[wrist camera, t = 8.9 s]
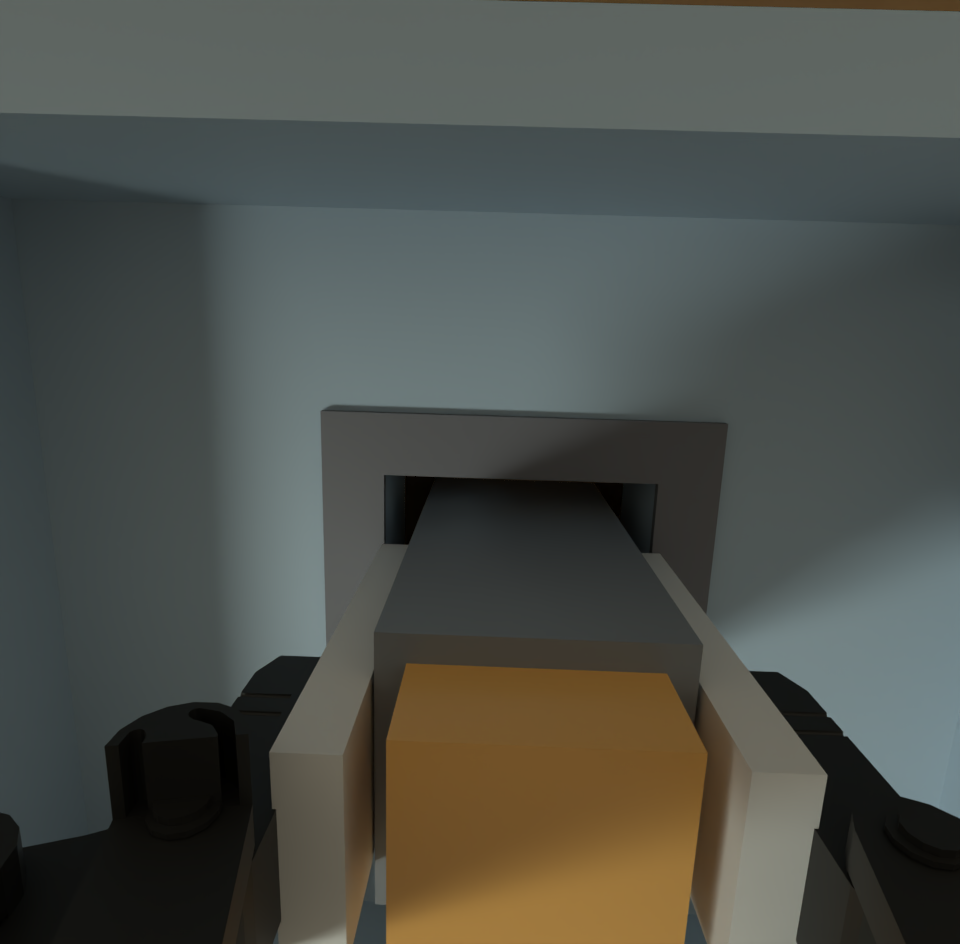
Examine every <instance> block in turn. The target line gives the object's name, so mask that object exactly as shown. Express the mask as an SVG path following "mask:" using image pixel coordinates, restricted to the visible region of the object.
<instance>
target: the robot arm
mask: <svg viewBox="0 0 960 944" xmlns="http://www.w3.org/2000/svg"><path fill="white" fill-rule="evenodd" d="M407 548H408V545H402V544H381V546H380V548H379V550H378V552H377V554H376V555H375V557H374V559H373V561H372V563H371V565H370V567H369V568H368V570H367V572H366V574H365V576H364V578H363V580H362V581H361V583H360V585H359V587H358V589H357V591H356V592H355V594H354V596H353V598H352V600H351V602H350V604H349V605H348V607H347V609H346V611H345V613H344V615H343V617H342V618H341V620H340V622H339V624H338V626H337V628H336V630H335V631H334V633H333V635H332V637H331V639H330V641H329V642H328V644H327V646H326V648H325V650H324V652H323V654H322V655H321V657H309V656H283V655H280V656H279V657H277V658H276V659H274V660H273V661H271V662H270V663H268V664H267V665H265V666H264V667H262V668H261V669H259V670H258V671H256V672H255V673H254V675H253V676H252V678H251V679H250V680H249V682H248V683H247V685H246V686H245V687H244V689H243V690H242V692H241V696H240V697H237V699H236V700H235V702H234V703H233V704H232V706H231V707H230V706H227V705H224V704H221V703H214V702H191V703H185V704H180V705H174V706H168V707H165V708H163V709H160V710H157V711H154V712H152V713H149V714H146V715H144V716H141V717H140V718H138V719H136V720H135V721H133V722H132V723H130V724H128V725H127V726H125V727H123V728H122V729H120V730H119V731H118V732H117V733H116V734H115V735H114V736H113V737H112V739H111V740H110V741H109V742H108V743H107V744H106V745H105V746H104V748H105V757H106V766H107V774H108V783H109V792H110V801H111V810H112V819H113V820H112V822H111V824H110V826H109V828H108V829H106V830H103V831H99V832H95V833H91V834H88V835H84V836H79V837H74V838H69V839H63V840H58V841H53V842H48V843H43V844H38V845H33V846H28V847H22V841H21V834H20V827H19V826H18V825H17V823H16V822H15V821H14V820H13V818H12V817H11V816H10V815H8V814H4V813H0V944H273V942H274V939H275V936H276V933H277V931H278V942H279V944H353V942H354V938H355V934H356V929H357V925H358V921H359V917H360V912H361V908H362V904H363V899H364V895H365V891H366V887H367V882H368V878H369V874H370V869H371V865H372V861H373V857H374V852H375V784H374V630H375V628H376V625H377V623H378V620H379V618H380V615H381V613H382V610H383V608H384V605H385V603H386V600H387V598H388V595H389V593H390V590H391V588H392V585H393V583H394V580H395V578H396V575H397V573H398V570H399V568H400V565H401V563H402V560H403V558H404V555H405V553H406V550H407ZM642 555H643V556H644V558H645V559H646V561H647V562H648V564H649V565H650V567H651V568H652V570H653V571H654V573H655V574H656V576H657V577H658V579H659V580H660V581H661V583H662V584H663V586H664V587H665V589H666V590H667V592H668V593H669V595H670V596H671V598H672V599H673V601H674V602H675V604H676V605H677V607H678V608H679V610H680V611H681V613H682V614H683V615H684V617H685V618H686V620H687V621H688V623H689V624H690V626H691V627H692V629H693V630H694V632H695V633H696V635H697V636H698V638H699V639H700V641H701V642H702V644H703V653H702V661H701V670H700V678H699V687H698V695H697V704H696V712H695V721H694V727H695V729H696V731H697V733H698V735H699V737H700V739H701V741H702V743H703V745H704V747H705V749H706V750H707V752H708V757H707V765H706V773H705V781H704V789H703V797H702V805H701V813H700V821H699V829H698V837H697V845H696V853H695V861H694V869H693V877H692V885H691V893H690V897H691V899H692V902H693V905H694V908H695V911H696V914H697V917H698V919H699V922H700V925H701V928H702V931H703V934H704V937H705V939H706V942H707V944H960V818H958V817H956V816H953V815H951V814H949V813H947V812H945V811H943V810H941V809H938V808H936V807H934V806H932V805H930V804H926V803H923V802H919V801H915V800H912V799H908V798H904V797H900V796H899V794H898V793H897V792H896V791H895V790H894V789H893V788H892V786H891V785H890V784H889V783H888V782H887V781H886V780H885V778H884V777H883V776H882V775H881V774H880V773H879V772H878V771H877V769H876V768H875V767H874V766H873V765H872V764H871V763H870V761H869V760H868V759H867V758H866V757H865V756H864V755H863V753H862V752H861V751H860V750H859V749H858V748H857V747H856V745H855V744H854V743H853V742H852V741H851V740H850V739H849V738H848V736H844V735H843V731H842V730H841V728H840V727H839V726H838V725H837V724H836V723H835V722H834V720H833V719H832V718H831V717H827V712H826V711H825V710H824V709H823V708H822V707H821V706H820V705H819V703H818V702H817V701H816V700H815V699H814V698H813V697H812V695H811V694H810V693H809V692H808V691H807V690H805V689H804V688H802V687H801V686H799V685H798V684H796V683H794V682H793V681H791V680H790V679H788V678H787V677H785V676H783V675H782V674H780V673H779V672H765V671H749V670H748V669H747V668H746V667H745V665H744V664H743V663H742V661H741V660H740V659H739V657H738V656H737V655H736V653H735V652H734V651H733V649H732V648H731V647H730V645H729V644H728V643H727V641H726V640H725V639H724V637H723V636H722V635H721V633H720V632H719V631H718V630H717V628H716V627H715V626H714V624H713V623H712V622H711V620H710V619H709V618H708V616H707V615H706V614H705V612H704V611H703V610H702V608H701V607H700V606H699V604H698V603H697V602H696V600H695V599H694V598H693V596H692V595H691V594H690V593H689V591H688V590H687V589H686V587H685V586H684V585H683V583H682V582H681V581H680V579H679V578H678V577H677V575H676V574H675V573H674V571H673V570H672V569H671V567H670V566H669V565H668V563H667V562H666V561H665V559H664V558H663V557H662V556H661V554H657V553H642Z"/></svg>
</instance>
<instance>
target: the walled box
mask: <svg viewBox="0 0 960 944" xmlns="http://www.w3.org/2000/svg"><path fill="white" fill-rule="evenodd" d="M405 476H428V477H458V478H488V479H518V480H549V481H579V482H609V483H623V490H622V502H621V514H620V522H621V524H622V525H623V527H624V528H625V530H626V531H627V533H628V534H629V536H630V537H631V539H632V540H633V542H634V543H635V545H636V546H637V547H638V549H639V550H640V552H641V553H657V554H661V556H662V557H663V558H664V559H665V561H666V562H667V563H668V565H669V566H670V567H671V569H672V570H673V571H674V573H675V574H676V575H677V577H678V578H679V579H680V581H681V582H682V583H683V585H684V586H685V587H686V589H687V590H688V591H689V593H690V594H691V595H692V596H693V598H694V599H695V600H696V602H697V603H698V604H699V606H700V607H701V608H702V610H703V611H704V612H705V614H706V615H707V616H708V618H709V619H710V620H711V622H712V623H713V624H714V626H715V627H716V628H717V630H718V631H719V632H720V633H721V635H722V636H723V637H724V639H725V640H726V641H727V643H728V644H729V645H730V647H731V648H732V649H733V651H734V652H735V653H736V655H737V656H738V657H739V659H740V660H741V661H742V663H743V664H744V665H745V667H746V668H747V669H748V670H749V671H765V672H779V673H780V674H782V675H783V676H785V677H787V678H788V679H790V680H791V681H793V682H794V683H796V684H798V685H799V686H801V687H802V688H804V689H805V690H807V691H808V692H809V693H810V694H811V695H812V697H813V698H814V699H815V700H816V701H817V702H818V703H819V705H820V706H821V707H822V708H823V709H824V710H825V711H826V712H827V717H831V718H832V719H833V720H834V722H835V723H836V724H837V725H838V726H839V727H840V728H841V730H842V731H843V735H844V736H848V738H849V739H850V740H851V741H852V742H853V743H854V744H855V745H856V747H857V748H858V749H859V750H860V751H861V752H862V753H863V755H864V756H865V757H866V758H867V759H868V760H869V761H870V763H871V764H872V765H873V766H874V767H875V768H876V769H877V771H878V772H879V773H880V774H881V775H882V776H883V777H884V778H885V780H886V781H887V782H888V783H889V784H890V785H891V786H892V788H893V789H894V790H895V791H896V792H897V793H898V794H899V796H900V797H904V798H908V799H912V800H915V801H919V802H923V803H926V804H930V805H932V806H934V807H936V808H938V809H941V810H943V811H945V812H947V813H949V814H951V815H953V816H956V817H958V818H960V12H959V11H917V10H876V9H834V8H792V7H750V6H708V5H666V4H625V3H583V2H541V1H499V0H0V813H4V814H8V815H10V816H11V817H12V818H13V820H14V821H15V822H16V823H17V825H18V826H19V827H20V834H21V841H22V847H28V846H33V845H38V844H43V843H48V842H53V841H58V840H63V839H69V838H74V837H79V836H84V835H88V834H91V833H95V832H99V831H103V830H106V829H108V828H109V826H110V824H111V822H112V820H113V819H112V810H111V801H110V792H109V783H108V774H107V766H106V757H105V748H104V746H105V745H106V744H107V743H108V742H109V741H110V740H111V739H112V737H113V736H114V735H115V734H116V733H117V732H118V731H119V730H120V729H122V728H123V727H125V726H127V725H128V724H130V723H132V722H133V721H135V720H136V719H138V718H140V717H141V716H144V715H146V714H149V713H152V712H154V711H157V710H160V709H163V708H165V707H168V706H174V705H180V704H185V703H191V702H214V703H221V704H224V705H227V706H230V707H231V706H232V704H233V703H234V702H235V700H236V699H237V697H240V696H241V692H242V690H243V689H244V687H245V686H246V685H247V683H248V682H249V680H250V679H251V678H252V676H253V675H254V673H255V672H256V671H258V670H259V669H261V668H262V667H264V666H265V665H267V664H268V663H270V662H271V661H273V660H274V659H276V658H277V657H279V656H280V655H283V656H309V657H321V655H322V654H323V652H324V650H325V648H326V646H327V644H328V642H329V641H330V639H331V637H332V635H333V633H334V631H335V630H336V628H337V626H338V624H339V622H340V620H341V618H342V617H343V615H344V613H345V611H346V609H347V607H348V605H349V604H350V602H351V600H352V598H353V596H354V594H355V592H356V591H357V589H358V587H359V585H360V583H361V581H362V580H363V578H364V576H365V574H366V572H367V570H368V568H369V567H370V565H371V563H372V561H373V559H374V557H375V555H376V554H377V552H378V550H379V548H380V546H381V544H402V545H405ZM273 944H279V942H278V931H277V933H276V936H275V939H274V942H273ZM353 944H386V905H380V904H375V852H374V857H373V861H372V865H371V869H370V874H369V878H368V882H367V887H366V891H365V895H364V899H363V904H362V908H361V912H360V917H359V921H358V925H357V929H356V934H355V938H354V942H353ZM684 944H707V942H706V939H705V937H704V934H703V931H702V928H701V925H700V922H699V919H698V917H697V914H696V911H695V908H694V905H693V902H692V899H691V897H690V901H689V910H688V918H687V926H686V934H685V942H684Z"/></svg>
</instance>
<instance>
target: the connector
mask: <svg viewBox="0 0 960 944" xmlns="http://www.w3.org/2000/svg"><path fill="white" fill-rule="evenodd" d="M702 653H703V644H702V642H701V641H700V639H699V638H698V636H697V635H696V633H695V632H694V630H693V629H692V627H691V626H690V624H689V623H688V621H687V620H686V618H685V617H684V615H683V614H682V613H681V611H680V610H679V608H678V607H677V605H676V604H675V602H674V601H673V599H672V598H671V596H670V595H669V593H668V592H667V590H666V589H665V587H664V586H663V584H662V583H661V581H660V580H659V579H658V577H657V576H656V574H655V573H654V571H653V570H652V568H651V567H650V565H649V564H648V562H647V561H646V559H645V558H644V556H643V555H642V553H641V552H640V550H639V549H638V547H637V546H636V545H635V543H634V542H633V540H632V539H631V537H630V536H629V534H628V533H627V531H626V530H625V528H624V527H623V525H622V524H621V522H620V521H619V519H618V518H617V516H616V515H615V513H614V512H613V511H612V509H611V508H610V506H609V505H608V503H607V502H606V500H605V499H604V497H603V496H602V494H601V493H600V491H599V490H598V488H597V487H596V485H595V484H594V483H589V482H560V481H532V480H504V479H476V478H448V477H435V480H434V482H433V485H432V487H431V490H430V492H429V495H428V497H427V500H426V503H425V505H424V508H423V510H422V513H421V515H420V518H419V520H418V523H417V525H416V528H415V530H414V533H413V535H412V538H411V540H410V543H409V545H408V548H407V550H406V553H405V555H404V558H403V560H402V563H401V565H400V568H399V570H398V573H397V575H396V578H395V580H394V583H393V585H392V588H391V590H390V593H389V595H388V598H387V600H386V603H385V605H384V608H383V610H382V613H381V615H380V618H379V620H378V623H377V625H376V628H375V630H374V784H375V904H380V905H386V944H684V942H685V934H686V926H687V918H688V910H689V901H690V893H691V885H692V877H693V869H694V861H695V853H696V845H697V837H698V829H699V821H700V813H701V805H702V797H703V789H704V781H705V773H706V765H707V757H708V752H707V750H706V749H705V747H704V745H703V743H702V741H701V739H700V737H699V735H698V733H697V731H696V729H695V727H694V721H695V712H696V704H697V695H698V687H699V678H700V670H701V661H702Z"/></svg>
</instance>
